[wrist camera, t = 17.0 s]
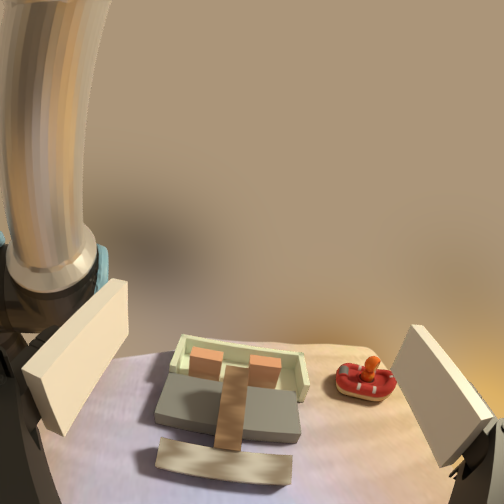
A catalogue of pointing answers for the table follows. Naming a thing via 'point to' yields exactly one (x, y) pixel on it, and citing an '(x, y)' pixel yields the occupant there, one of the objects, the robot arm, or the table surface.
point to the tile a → (205, 363)
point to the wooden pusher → (226, 445)
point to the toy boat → (365, 380)
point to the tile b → (263, 371)
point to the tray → (246, 361)
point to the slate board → (208, 402)
